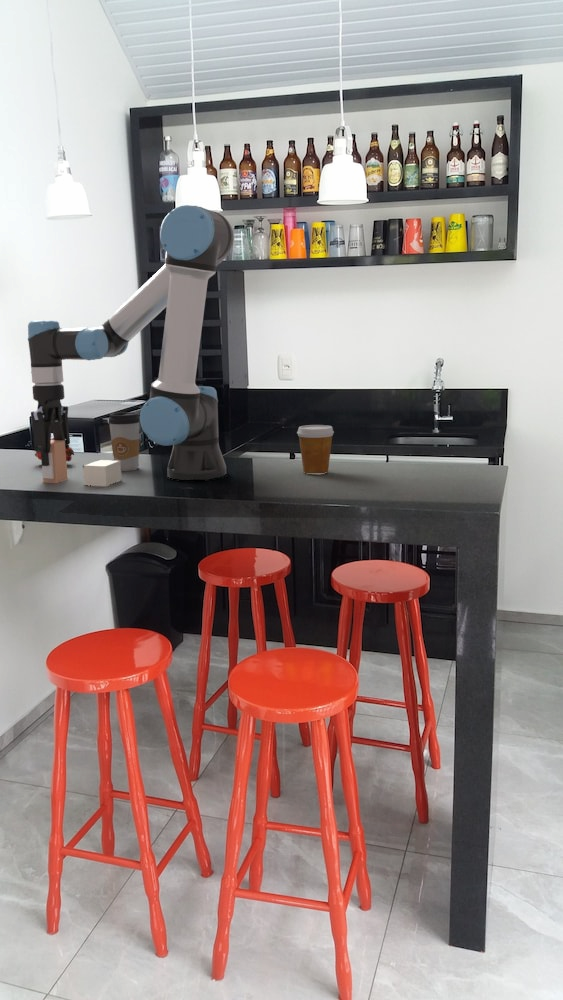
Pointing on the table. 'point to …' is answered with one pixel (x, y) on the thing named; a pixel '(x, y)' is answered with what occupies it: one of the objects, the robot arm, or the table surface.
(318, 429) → the disposable coffee cup
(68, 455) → the dragon fruit
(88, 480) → the cream white block
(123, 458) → the coffee cup
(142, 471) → the table surface
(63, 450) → the salmon orange rectangular block
